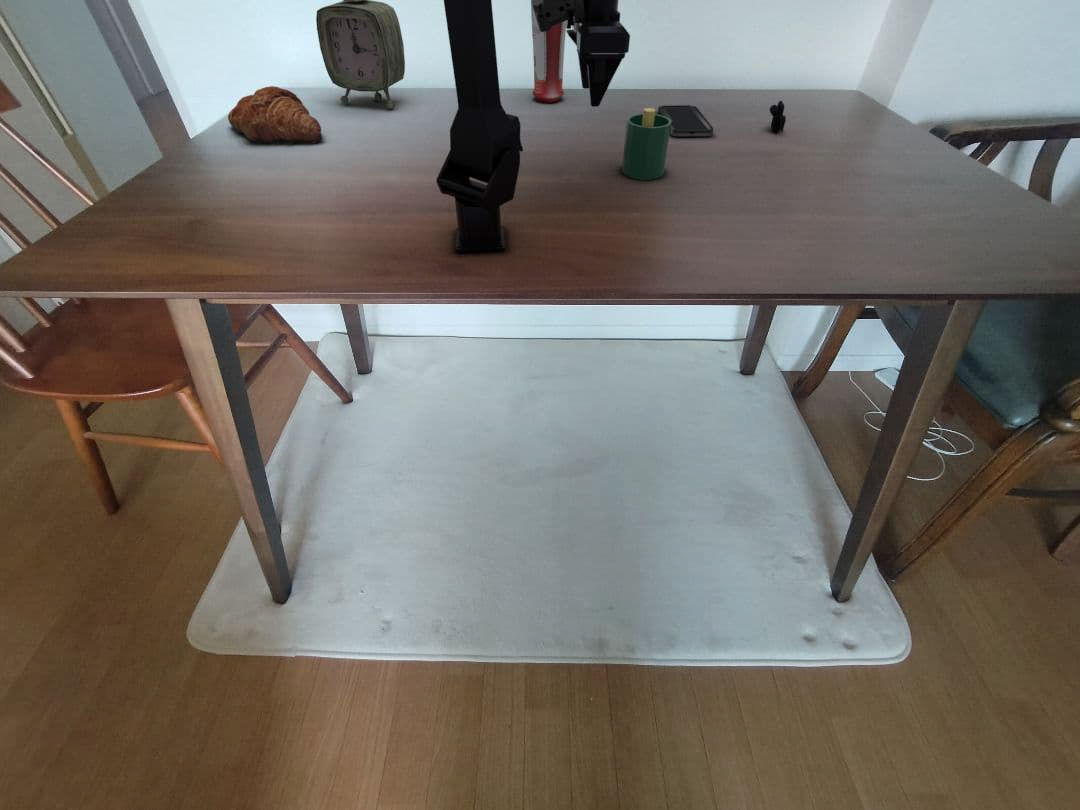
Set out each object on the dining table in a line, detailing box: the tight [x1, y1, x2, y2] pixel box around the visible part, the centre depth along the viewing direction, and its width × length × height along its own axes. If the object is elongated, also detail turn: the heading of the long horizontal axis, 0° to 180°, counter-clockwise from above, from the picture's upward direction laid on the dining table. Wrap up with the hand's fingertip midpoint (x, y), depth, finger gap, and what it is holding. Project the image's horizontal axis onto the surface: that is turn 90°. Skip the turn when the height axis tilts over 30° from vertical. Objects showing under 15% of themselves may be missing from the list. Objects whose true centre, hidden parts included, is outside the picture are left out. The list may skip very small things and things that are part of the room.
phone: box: [657, 104, 714, 138], centre depth 112 cm, size 8×1×15 cm
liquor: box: [530, 0, 567, 104], centre depth 115 cm, size 7×7×28 cm
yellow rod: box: [642, 107, 656, 127], centre depth 92 cm, size 2×2×9 cm
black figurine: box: [769, 100, 787, 133], centre depth 109 cm, size 7×2×5 cm, turn 175°
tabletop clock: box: [315, 0, 406, 110], centre depth 114 cm, size 14×9×25 cm, turn 73°
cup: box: [621, 113, 671, 181], centre depth 93 cm, size 7×7×8 cm
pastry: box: [227, 85, 323, 144], centre depth 105 cm, size 17×15×8 cm
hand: (590, 96), depth 83 cm, fingers open, 9 cm apart
